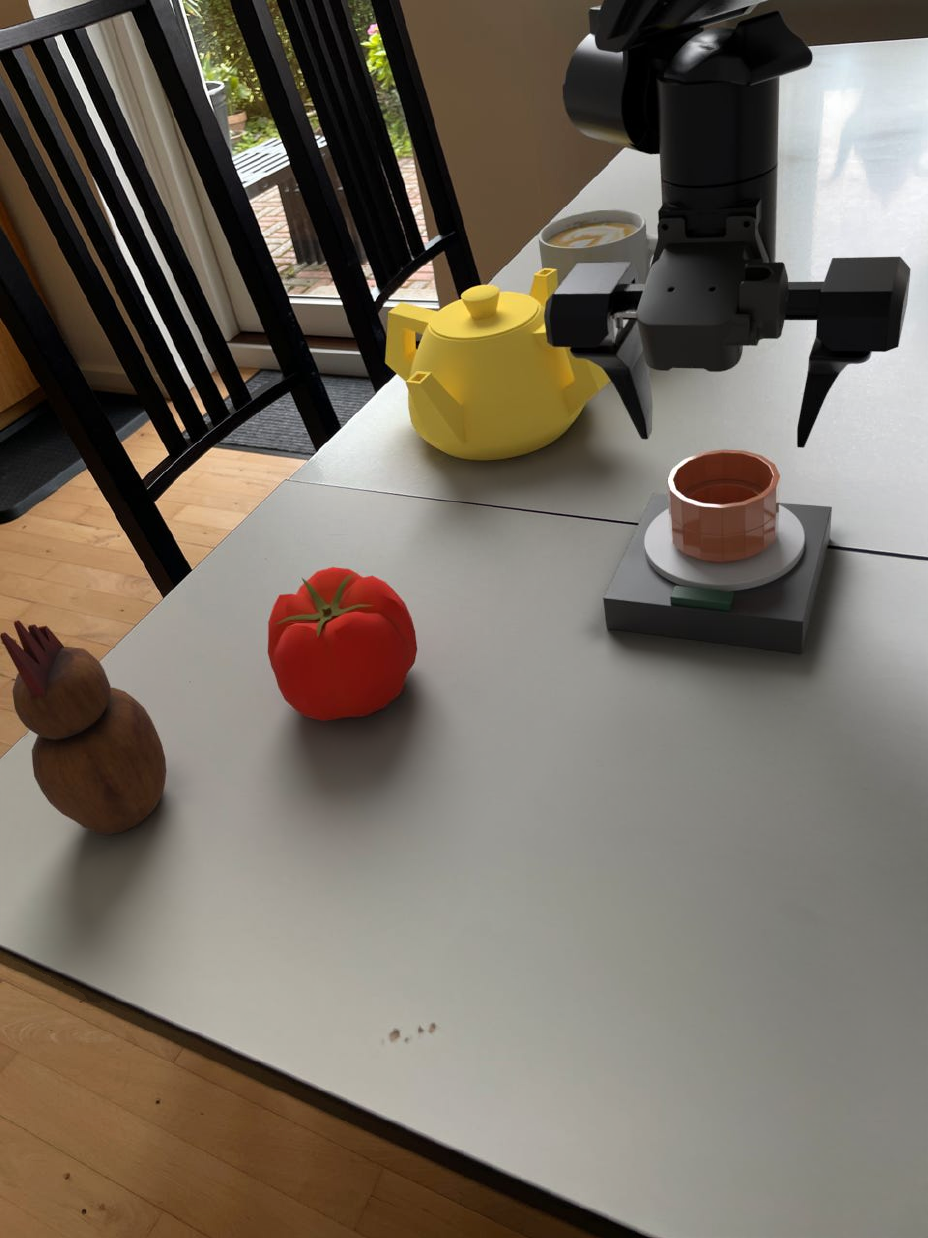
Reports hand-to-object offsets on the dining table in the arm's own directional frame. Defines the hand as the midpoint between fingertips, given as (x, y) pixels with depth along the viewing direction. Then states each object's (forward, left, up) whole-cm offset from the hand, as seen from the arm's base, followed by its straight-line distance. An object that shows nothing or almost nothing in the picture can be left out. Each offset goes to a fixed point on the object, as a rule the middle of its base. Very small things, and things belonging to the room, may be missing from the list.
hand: (721, 440), depth 60 cm
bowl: (0, 0, -7) cm, 7 cm away
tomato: (+20, +16, -10) cm, 28 cm away
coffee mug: (+18, -37, -10) cm, 42 cm away
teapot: (+23, -18, -10) cm, 31 cm away
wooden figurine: (+29, +28, -10) cm, 42 cm away
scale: (0, +1, -10) cm, 10 cm away
